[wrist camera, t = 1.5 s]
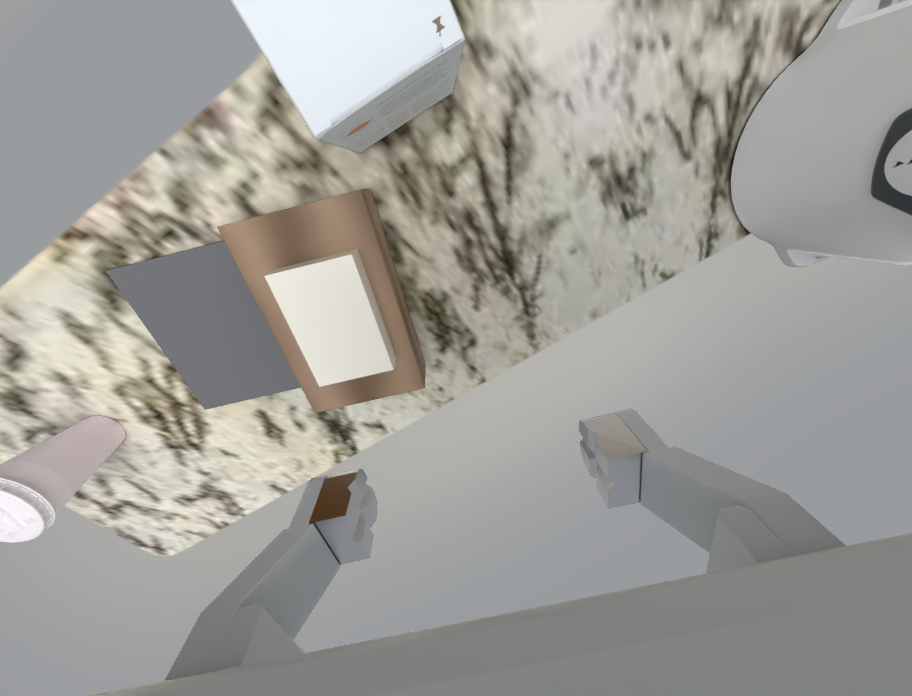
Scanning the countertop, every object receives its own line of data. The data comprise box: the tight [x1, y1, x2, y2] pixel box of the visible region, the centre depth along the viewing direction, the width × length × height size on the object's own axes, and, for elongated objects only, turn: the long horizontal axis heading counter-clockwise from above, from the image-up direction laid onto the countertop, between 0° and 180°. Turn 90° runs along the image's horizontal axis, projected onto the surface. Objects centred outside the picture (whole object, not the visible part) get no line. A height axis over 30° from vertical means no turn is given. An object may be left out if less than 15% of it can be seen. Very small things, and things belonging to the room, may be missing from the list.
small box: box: [230, 0, 465, 153], centre depth 18 cm, size 8×6×10 cm
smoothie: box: [0, 416, 126, 542], centre depth 27 cm, size 6×6×14 cm
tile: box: [264, 249, 396, 387], centre depth 25 cm, size 6×9×2 cm, turn 13°
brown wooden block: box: [217, 189, 426, 413], centre depth 28 cm, size 10×16×4 cm, turn 13°
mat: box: [106, 241, 301, 409], centre depth 30 cm, size 12×14×1 cm
